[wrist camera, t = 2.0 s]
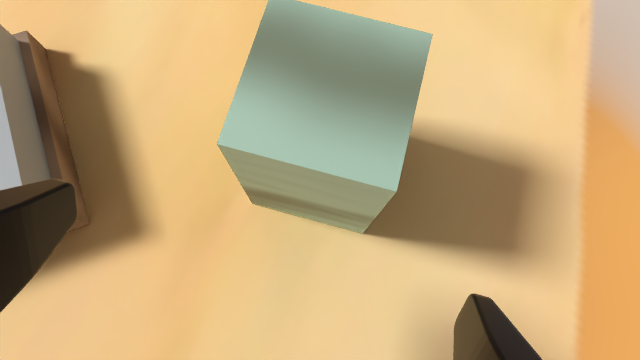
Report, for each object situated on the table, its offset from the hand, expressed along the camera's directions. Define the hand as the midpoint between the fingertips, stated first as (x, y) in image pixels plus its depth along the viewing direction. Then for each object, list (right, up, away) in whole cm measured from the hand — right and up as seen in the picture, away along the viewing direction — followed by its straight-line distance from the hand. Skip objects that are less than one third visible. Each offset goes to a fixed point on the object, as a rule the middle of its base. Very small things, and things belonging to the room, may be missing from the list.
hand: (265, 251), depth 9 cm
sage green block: (+1, +2, +14) cm, 14 cm away
